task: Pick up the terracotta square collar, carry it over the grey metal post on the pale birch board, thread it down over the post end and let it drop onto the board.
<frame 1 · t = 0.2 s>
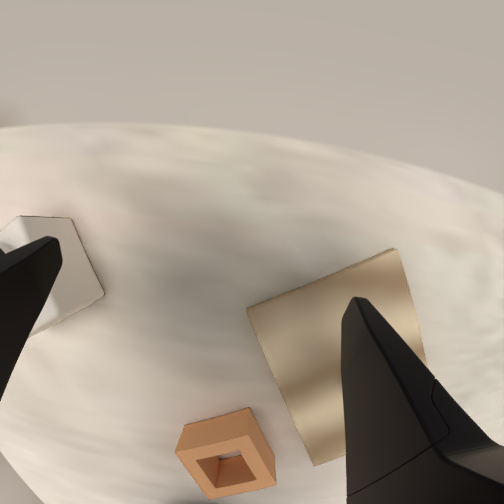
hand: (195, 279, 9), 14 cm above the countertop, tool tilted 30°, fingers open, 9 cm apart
medicine bottle: (60, 273, 24), on the countertop
post stand: (353, 368, 24), on the countertop
collar: (230, 442, 24), on the countertop
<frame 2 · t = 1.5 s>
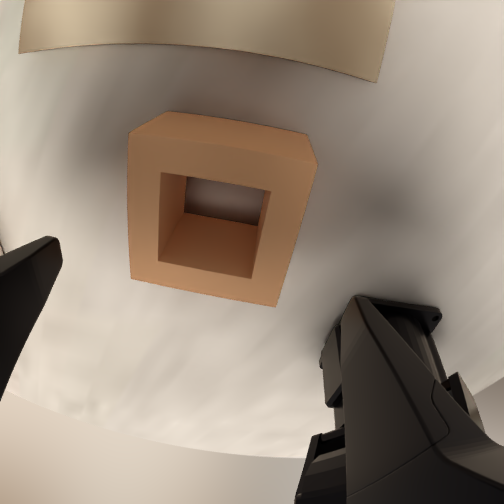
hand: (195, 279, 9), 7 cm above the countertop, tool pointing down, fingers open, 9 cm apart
collar: (225, 184, 14), on the countertop
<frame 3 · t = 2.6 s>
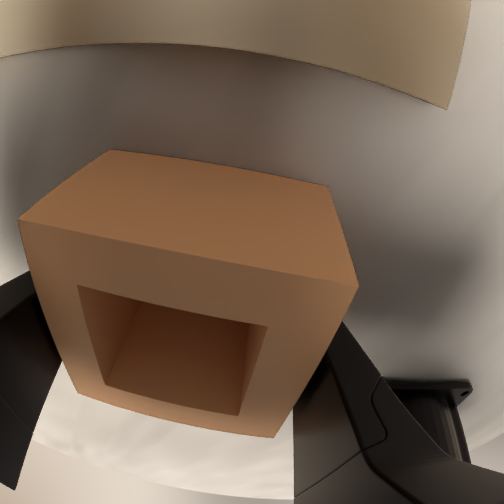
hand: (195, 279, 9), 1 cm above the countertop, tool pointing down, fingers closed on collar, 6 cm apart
collar: (202, 257, 10), on the countertop, touching gripper
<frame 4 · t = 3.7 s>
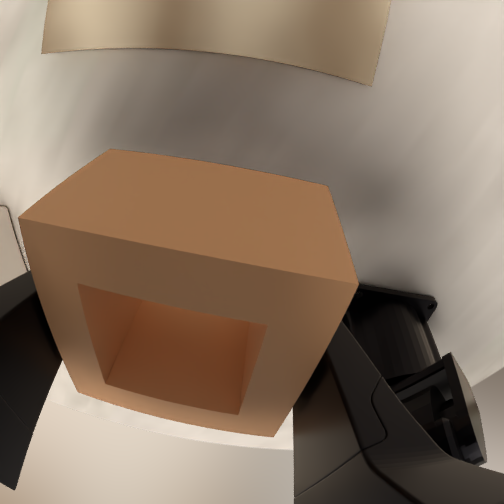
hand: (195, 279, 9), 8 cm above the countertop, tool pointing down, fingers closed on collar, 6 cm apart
collar: (202, 256, 10), point 7 cm above the countertop, touching gripper
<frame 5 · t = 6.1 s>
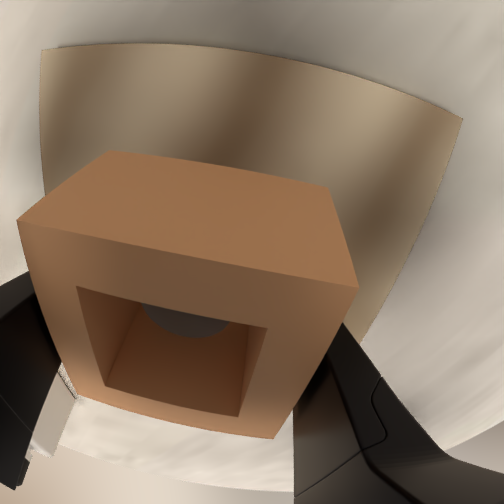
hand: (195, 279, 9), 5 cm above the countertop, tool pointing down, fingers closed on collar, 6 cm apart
medicine bottle: (36, 369, 24), on the countertop
post stand: (221, 202, 13), on the countertop
collar: (202, 258, 10), point 4 cm above the countertop, touching gripper
when the fingers open (4 cm above the countertop, at t = 6.6 s): collar drops 2 cm, resting on post stand.
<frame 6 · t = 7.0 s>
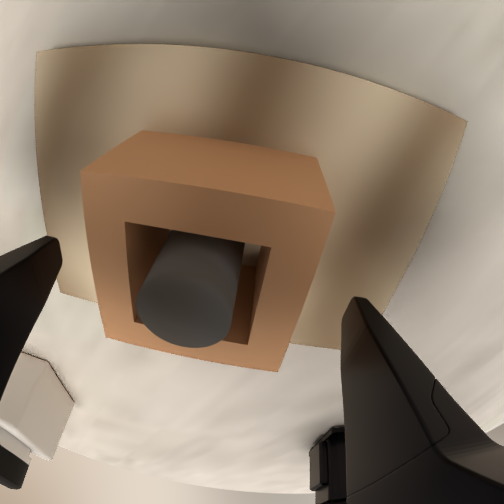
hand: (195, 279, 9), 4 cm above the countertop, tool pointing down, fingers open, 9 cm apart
medicine bottle: (35, 372, 23), on the countertop
post stand: (220, 206, 13), on the countertop
collar: (216, 219, 12), point 1 cm above the countertop, touching post stand
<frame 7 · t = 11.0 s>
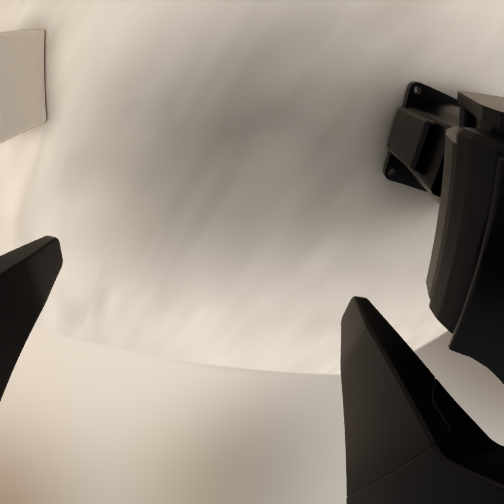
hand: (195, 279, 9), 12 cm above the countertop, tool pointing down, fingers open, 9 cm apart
medicine bottle: (15, 82, 16), on the countertop
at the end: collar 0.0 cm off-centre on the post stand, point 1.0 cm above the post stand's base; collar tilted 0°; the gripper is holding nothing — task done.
